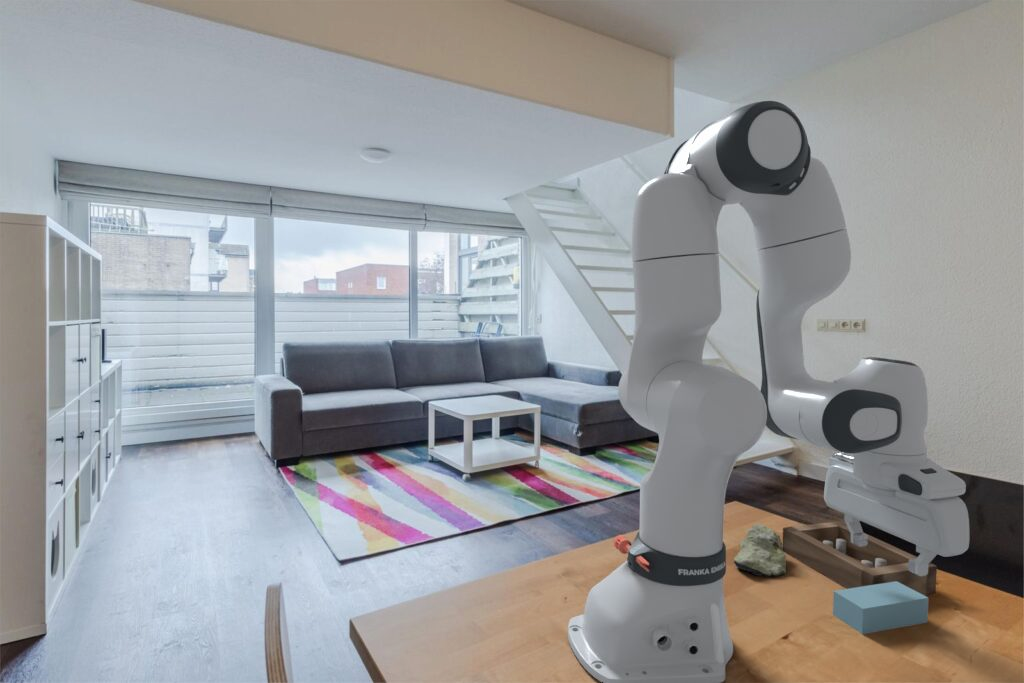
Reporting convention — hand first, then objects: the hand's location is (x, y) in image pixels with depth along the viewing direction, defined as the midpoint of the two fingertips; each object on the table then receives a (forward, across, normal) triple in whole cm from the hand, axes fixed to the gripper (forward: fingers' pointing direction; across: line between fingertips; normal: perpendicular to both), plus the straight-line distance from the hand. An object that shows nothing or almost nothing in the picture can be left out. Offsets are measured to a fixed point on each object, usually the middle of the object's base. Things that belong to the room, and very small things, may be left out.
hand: (886, 558), depth 79 cm
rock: (+9, -19, -7) cm, 22 cm away
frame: (+9, -13, +8) cm, 18 cm away
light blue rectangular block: (+9, 0, -1) cm, 9 cm away
